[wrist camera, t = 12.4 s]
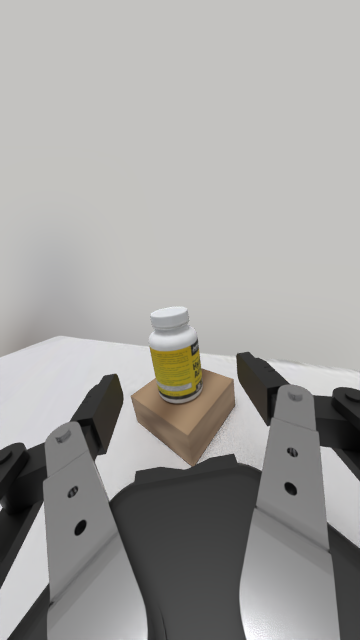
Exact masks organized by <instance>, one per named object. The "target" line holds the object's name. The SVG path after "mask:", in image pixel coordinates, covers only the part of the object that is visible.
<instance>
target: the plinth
mask: <svg viewBox="0 0 360 640" xmlns="http://www.w3.org/2000/svg"><path fill="white" fill-rule="evenodd" d="M201 372H202V381H203V387H202V391H201V393H200V394H199V395H198V396H197V397H196V398H194V399H193V400H191V401H188V402H185V403H170V402H167V401H165V400H164V399H163V398H162V397H161V396H160V394H159V390H158V386H157V381H156V378H155V379H154V380H152V381H151V382H149V383H148V384H147V385H145V386H144V387H143V388H141V389H140V390H138V391H137V392H136V393H134V394H133V395H131V399H132V403H133V406H134V410H135V413H136V417H137V421H138V422H139V423H140V424H141V425H143V426H144V427H145V428H146V429H147V430H149V431H150V432H151V433H152V434H153V435H155V436H156V437H157V438H158V439H159V440H161V441H162V442H163V443H164V444H165V445H167V446H168V447H169V448H170V449H172V450H173V451H174V452H175V453H176V454H178V455H179V456H180V457H181V458H182V459H184V460H185V461H186V462H187V463H188V464H190V465H191V466H192V467H193V466H195V464H196V463H197V461H198V460H199V458H200V457H201V455H202V454H203V452H204V451H205V449H206V448H207V447H208V445H209V444H210V442H211V441H212V439H213V438H214V436H215V435H216V433H217V432H218V430H219V429H220V427H221V426H222V424H223V423H224V421H225V420H226V418H227V417H228V415H229V414H230V412H231V411H232V409H233V408H234V406H235V396H234V380H233V379H231V378H228V377H225V376H222V375H219V374H216V373H214V372H211V371H208V370H205V369H202V368H201Z"/></svg>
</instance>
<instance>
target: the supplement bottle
mask: <svg viewBox="0 0 360 640" xmlns="http://www.w3.org/2000/svg"><path fill="white" fill-rule="evenodd" d="M150 317H151V322H152V327H153V328H154V329H155V330H154V331H153V332H152V333H151V334H150V336H149V347H150V352H151V357H152V362H153V367H154V371H155V376H156V381H157V386H158V390H159V394H160V396H161V397H162V398H163V399H164V400H165V401H167V402H170V403H185V402H188V401H191V400H193V399H194V398H196V397H197V396H198V395H199V394H200V393H201V391H202V387H203V381H202V372H201V363H200V354H199V347H198V338H197V332H196V330H195V329H194V328H193V327H191V326H190V325H187V324H188V322H189V316H188V309H187V308H186V307H168V308H163V309H159V310H156V311H154V312H152V313H151V314H150Z"/></svg>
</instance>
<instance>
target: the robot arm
mask: <svg viewBox="0 0 360 640" xmlns="http://www.w3.org/2000/svg"><path fill="white" fill-rule="evenodd" d="M236 358H237V374H238V379H239V382H240V384H241V385H242V387H243V389H244V390H245V392H246V393H247V395H248V396H249V398H250V400H251V401H252V403H253V404H254V406H255V407H256V409H257V411H258V412H259V414H260V415H261V417H262V419H263V420H264V422H265V423H266V425H267V426H270V430H269V436H268V441H267V447H266V452H265V458H264V464H263V469H262V471H260V470H259V469H257V468H255V467H252V466H249V465H246V464H242V463H237V461H236V458H235V455H234V454H229V455H224V456H218V457H213V458H209V459H207V460H205V461H203V462H201V463H199V464H197V465H195V466H193V467H191V468H189V469H186V470H182V469H174V468H165V467H157V468H151V469H146V470H140V471H136V474H135V481H134V482H133V483H131V484H129V485H128V486H126V487H125V488H123V489H122V490H121V491H120V492H119V493H117V494H116V495H115V496H114V497H113V498H112V500H111V501H109V498H108V496H107V493H106V490H105V488H104V485H103V482H102V480H101V477H100V474H99V472H98V469H97V467H96V464H95V459H96V457H97V455H103V454H106V452H107V449H108V446H109V443H110V440H111V437H112V434H113V431H114V428H115V425H116V422H117V419H118V416H119V413H120V411H121V408H122V405H123V391H122V388H121V385H120V381H119V378H118V375H117V374H111V375H105V376H103V378H102V380H101V381H100V383H99V384H98V385H95V386H94V387H93V388H92V389H91V390H90V391H89V392H88V394H87V395H86V397H85V398H84V400H83V402H82V404H81V405H80V406H79V408H78V409H77V411H76V412H75V414H74V415H73V417H72V418H71V420H70V422H68V423H65V424H63V425H61V426H60V427H58V428H57V429H55V430H54V431H53V432H52V433H51V434H50V435H49V436H48V438H47V439H46V441H45V442H44V443H42V444H39V445H37V446H35V447H32V448H30V449H28V450H27V449H26V447H25V445H24V444H23V443H14V444H11V445H9V446H7V447H5V448H3V449H2V450H0V504H1V505H2V507H3V508H2V510H1V511H0V589H1V587H2V585H3V583H4V581H5V579H6V576H7V574H8V572H9V570H10V568H11V566H12V564H13V562H14V560H15V558H16V556H17V554H18V552H19V550H20V548H21V546H22V544H23V542H24V540H25V538H26V536H27V534H28V532H29V530H30V528H31V526H32V524H33V522H34V520H35V518H36V516H37V514H38V512H39V510H40V508H41V506H42V504H43V502H44V509H45V524H46V539H47V554H48V569H49V584H48V585H47V586H46V588H45V589H44V590H43V592H42V593H41V594H40V596H39V597H38V598H37V600H36V601H35V602H34V604H33V605H32V607H31V608H30V609H29V611H28V612H27V613H26V615H25V616H24V617H23V619H22V620H21V621H20V623H19V624H18V625H17V627H16V628H15V630H14V631H13V632H12V634H11V635H10V636H9V638H8V639H7V640H360V548H358V547H357V546H356V545H355V544H353V543H352V542H351V541H350V540H348V539H347V538H346V537H345V536H343V535H342V534H341V533H340V532H338V531H337V530H336V529H335V528H333V527H332V526H331V525H330V524H328V523H327V520H326V509H325V498H324V487H323V475H322V464H321V453H320V446H323V447H330V448H332V449H333V450H334V451H335V452H336V454H337V455H338V456H339V457H340V458H341V460H342V461H343V462H344V463H345V464H346V465H347V467H348V468H349V469H350V470H351V471H352V473H353V474H354V475H355V476H356V477H357V478H358V480H359V481H360V391H359V390H356V389H353V388H347V387H339V388H336V389H334V390H333V394H332V397H330V396H315V395H312V394H311V393H310V392H309V391H308V390H307V389H305V388H303V387H300V386H297V385H291V384H289V383H288V382H287V381H286V380H285V379H284V378H283V377H282V376H281V375H280V374H279V373H278V372H277V371H275V369H274V368H272V367H271V366H270V365H269V364H268V363H267V362H266V361H264V360H262V359H260V358H254V357H253V356H252V355H251V354H250V352H244V353H238V354H237V356H236Z"/></svg>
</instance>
